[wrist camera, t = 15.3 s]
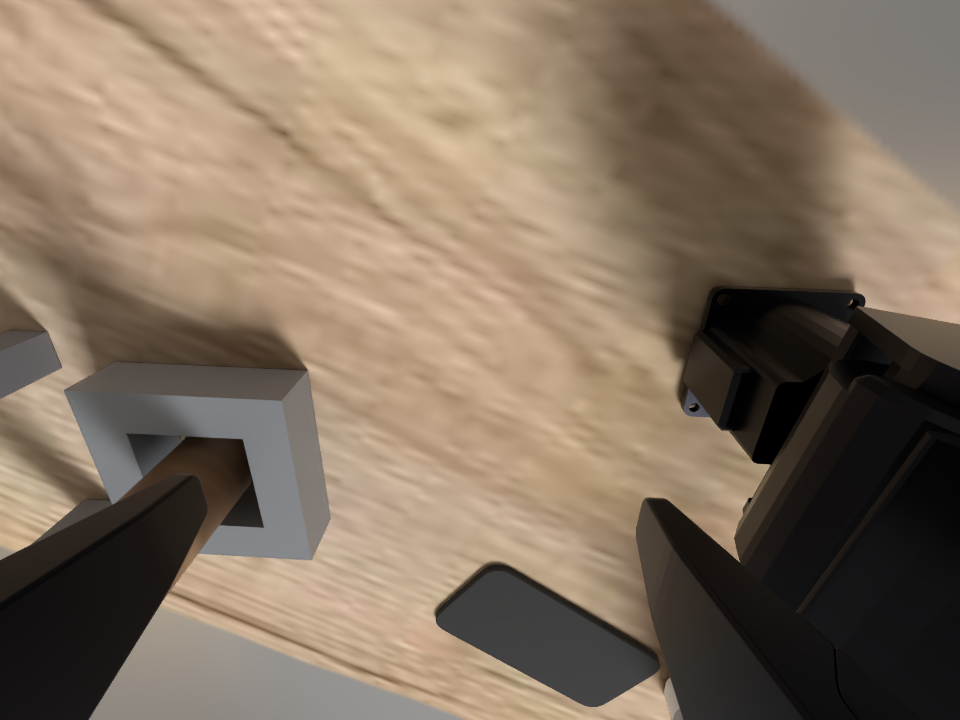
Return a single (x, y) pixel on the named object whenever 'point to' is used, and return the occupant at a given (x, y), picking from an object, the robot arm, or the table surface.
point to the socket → (216, 414)
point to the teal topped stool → (19, 363)
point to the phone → (546, 637)
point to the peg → (205, 480)
